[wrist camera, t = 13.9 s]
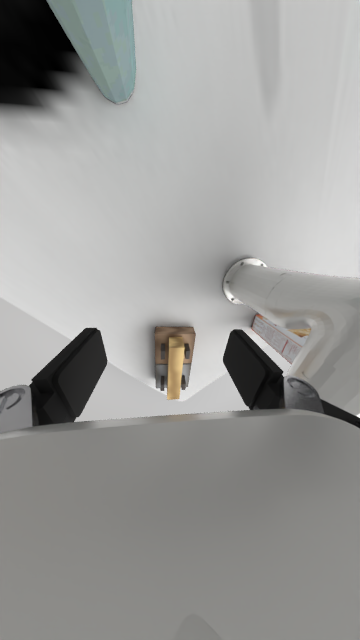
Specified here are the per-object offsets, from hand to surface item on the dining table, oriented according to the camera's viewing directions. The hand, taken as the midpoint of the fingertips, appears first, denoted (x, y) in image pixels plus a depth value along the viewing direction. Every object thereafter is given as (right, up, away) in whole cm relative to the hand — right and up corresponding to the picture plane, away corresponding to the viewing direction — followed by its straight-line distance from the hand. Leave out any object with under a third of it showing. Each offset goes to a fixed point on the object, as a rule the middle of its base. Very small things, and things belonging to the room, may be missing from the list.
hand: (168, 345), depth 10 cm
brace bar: (-1, -13, +34) cm, 36 cm away
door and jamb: (-2, -11, +38) cm, 39 cm away
